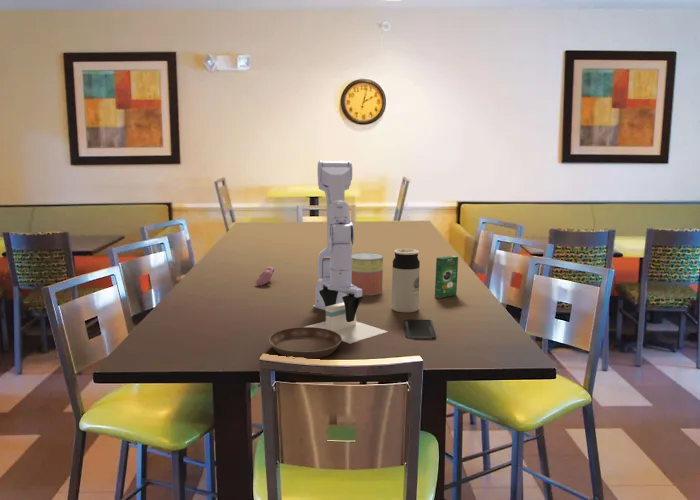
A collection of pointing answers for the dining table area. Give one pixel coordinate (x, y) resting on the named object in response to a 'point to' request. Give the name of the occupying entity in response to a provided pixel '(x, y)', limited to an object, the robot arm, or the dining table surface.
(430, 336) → the phone
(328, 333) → the plant saucer
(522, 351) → the dining table surface
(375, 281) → the canned food
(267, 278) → the pink bird figurine
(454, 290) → the coffee box
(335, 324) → the card deck
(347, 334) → the mat
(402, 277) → the travel mug
